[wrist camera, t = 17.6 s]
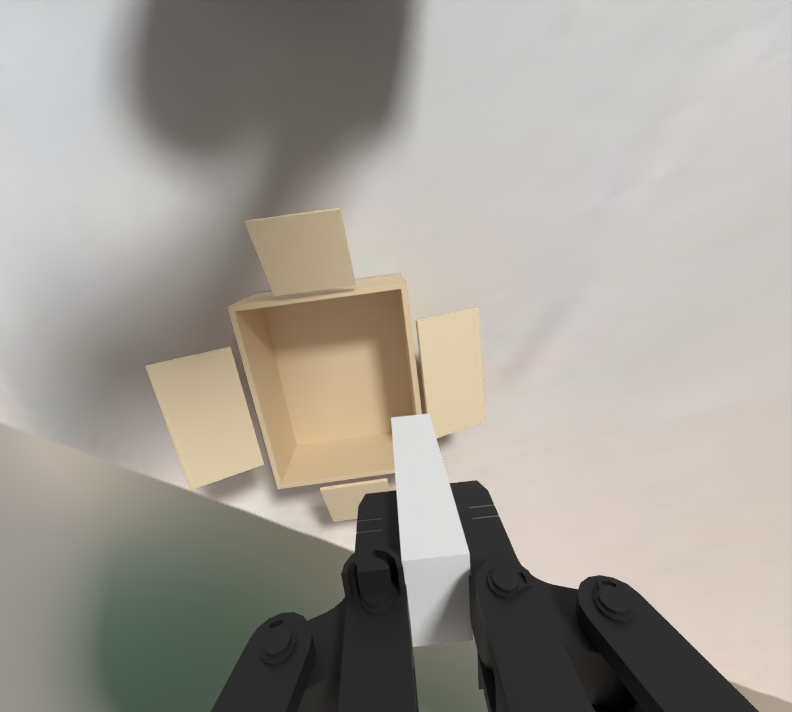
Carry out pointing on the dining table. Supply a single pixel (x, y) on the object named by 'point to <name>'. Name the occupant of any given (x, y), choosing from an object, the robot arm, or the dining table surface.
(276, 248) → the flap
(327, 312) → the carton
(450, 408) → the flap
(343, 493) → the flap
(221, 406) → the flap
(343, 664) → the robot arm
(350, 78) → the dining table surface
